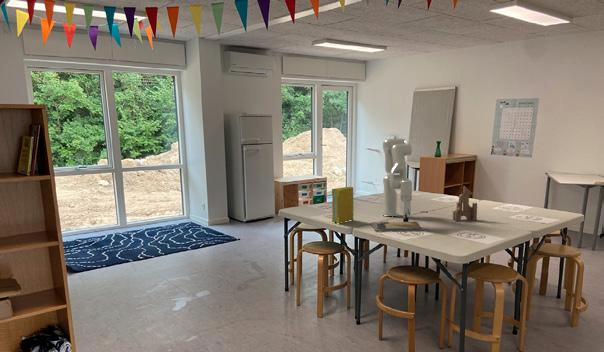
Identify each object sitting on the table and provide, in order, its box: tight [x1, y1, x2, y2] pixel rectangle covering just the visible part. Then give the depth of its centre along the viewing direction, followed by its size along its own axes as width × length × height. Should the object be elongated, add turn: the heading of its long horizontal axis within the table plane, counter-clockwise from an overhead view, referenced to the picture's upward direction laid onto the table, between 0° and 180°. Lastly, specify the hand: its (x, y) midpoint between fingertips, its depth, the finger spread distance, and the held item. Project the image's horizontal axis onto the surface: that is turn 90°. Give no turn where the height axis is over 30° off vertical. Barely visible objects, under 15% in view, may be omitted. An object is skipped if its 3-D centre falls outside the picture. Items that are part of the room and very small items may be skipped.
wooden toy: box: [452, 185, 478, 222], centre depth 295 cm, size 16×7×25 cm, turn 90°
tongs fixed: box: [377, 222, 420, 230], centre depth 273 cm, size 5×27×4 cm, turn 90°
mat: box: [370, 222, 425, 232], centre depth 280 cm, size 22×32×1 cm
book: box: [331, 186, 354, 224], centre depth 298 cm, size 17×7×25 cm, turn 126°
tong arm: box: [377, 221, 419, 225], centre depth 274 cm, size 6×27×4 cm, turn 89°
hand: (405, 224), depth 281 cm, fingers closed
